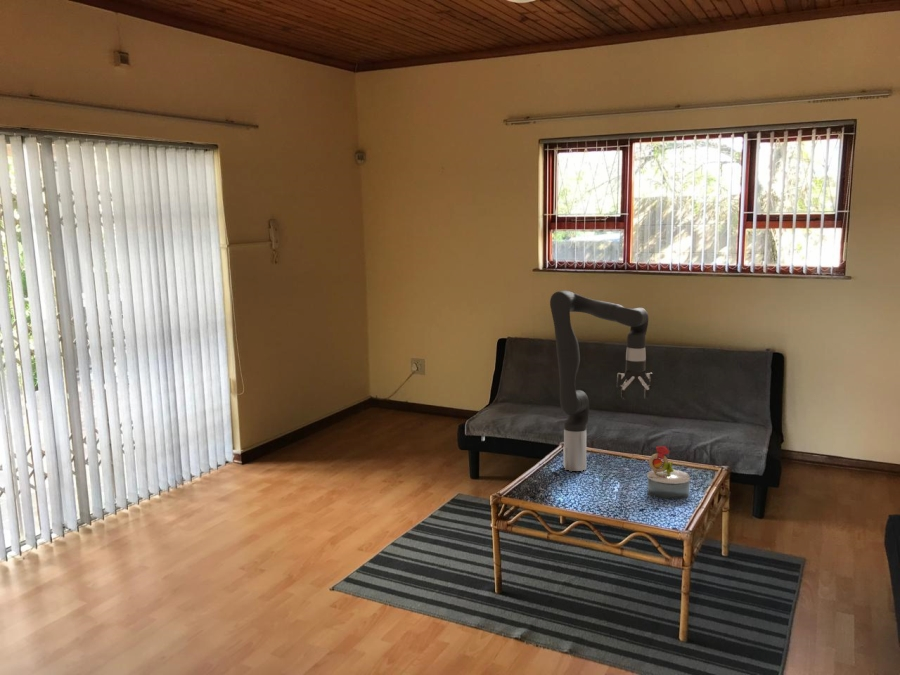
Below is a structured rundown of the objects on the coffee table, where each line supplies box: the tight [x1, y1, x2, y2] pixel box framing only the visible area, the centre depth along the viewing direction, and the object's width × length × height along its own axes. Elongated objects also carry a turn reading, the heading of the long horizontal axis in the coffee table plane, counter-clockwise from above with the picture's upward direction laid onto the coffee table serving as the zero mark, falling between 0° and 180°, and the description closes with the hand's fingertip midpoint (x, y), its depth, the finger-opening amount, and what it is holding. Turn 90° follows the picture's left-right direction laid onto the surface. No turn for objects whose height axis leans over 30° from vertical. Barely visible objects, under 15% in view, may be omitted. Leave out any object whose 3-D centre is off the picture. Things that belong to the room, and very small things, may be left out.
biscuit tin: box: [646, 468, 691, 501], centre depth 273 cm, size 15×15×7 cm
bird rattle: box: [648, 445, 675, 474], centre depth 275 cm, size 6×11×9 cm
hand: (634, 398), depth 287 cm, fingers open, 8 cm apart
